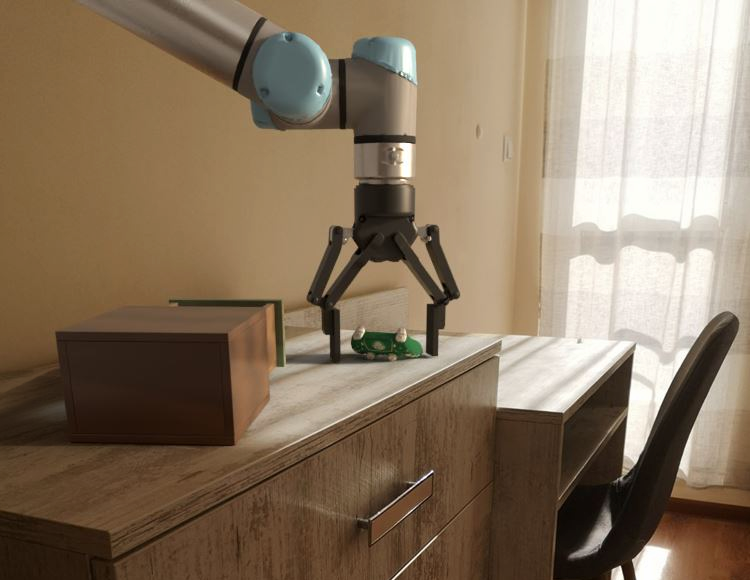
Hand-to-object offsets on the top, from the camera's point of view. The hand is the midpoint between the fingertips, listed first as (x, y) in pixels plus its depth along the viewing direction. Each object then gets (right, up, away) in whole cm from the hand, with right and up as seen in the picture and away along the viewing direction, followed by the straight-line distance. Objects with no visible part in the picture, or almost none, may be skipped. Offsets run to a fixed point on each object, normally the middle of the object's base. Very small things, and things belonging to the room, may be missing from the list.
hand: (384, 357), depth 108 cm
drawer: (-19, -4, -14) cm, 24 cm away
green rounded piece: (0, 0, 0) cm, 0 cm away
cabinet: (-20, -11, -29) cm, 37 cm away
